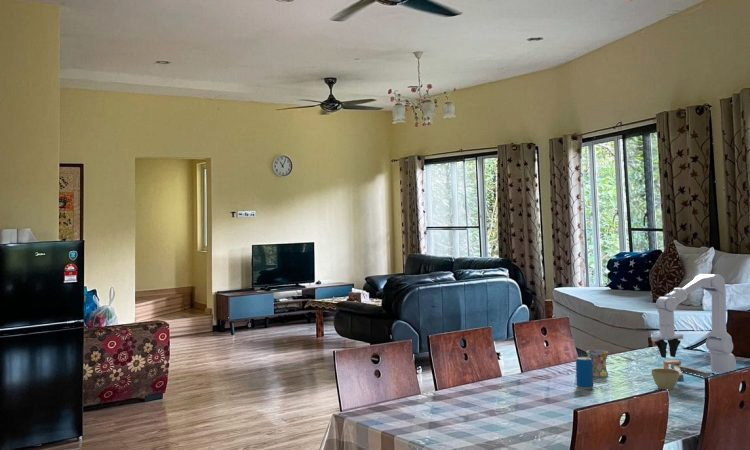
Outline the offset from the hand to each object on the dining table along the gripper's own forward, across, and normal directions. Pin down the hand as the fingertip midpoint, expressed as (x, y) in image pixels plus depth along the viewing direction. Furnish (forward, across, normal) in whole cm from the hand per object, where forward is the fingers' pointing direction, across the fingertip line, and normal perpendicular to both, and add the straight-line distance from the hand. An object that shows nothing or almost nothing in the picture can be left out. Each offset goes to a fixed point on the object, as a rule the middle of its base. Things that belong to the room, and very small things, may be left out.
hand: (668, 357), depth 259 cm
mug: (+10, +24, -16) cm, 31 cm away
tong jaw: (+9, -7, -3) cm, 12 cm away
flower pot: (+10, +12, +13) cm, 20 cm away
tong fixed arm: (+9, -14, -5) cm, 18 cm away
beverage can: (+10, +40, 0) cm, 42 cm away
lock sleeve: (+9, -14, -14) cm, 22 cm away
